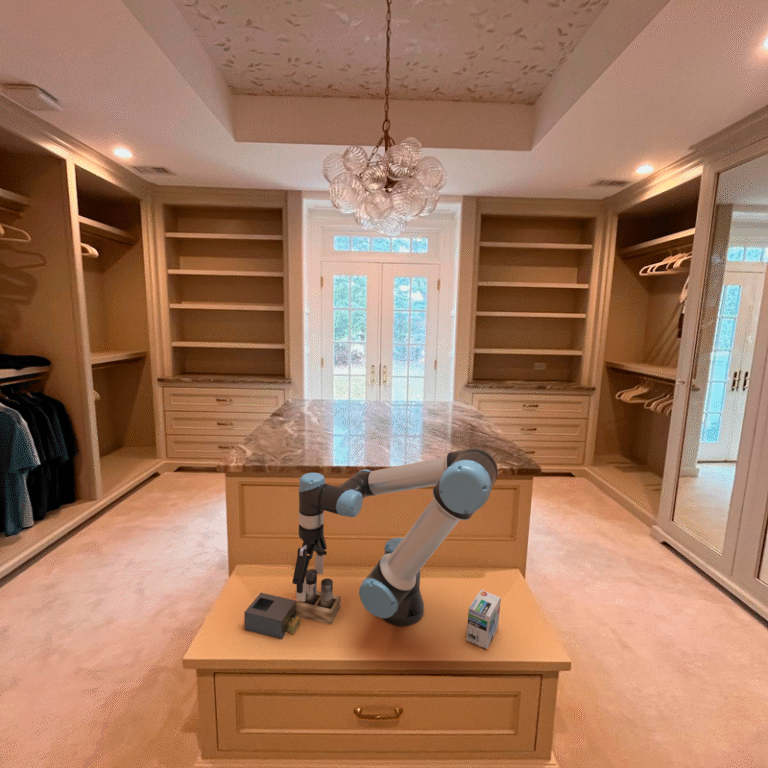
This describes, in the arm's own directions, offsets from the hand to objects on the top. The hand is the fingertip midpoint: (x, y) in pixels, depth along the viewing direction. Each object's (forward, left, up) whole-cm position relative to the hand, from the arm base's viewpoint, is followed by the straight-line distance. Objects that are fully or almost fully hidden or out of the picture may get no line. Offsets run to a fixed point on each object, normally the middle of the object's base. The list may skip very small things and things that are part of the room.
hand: (310, 586), depth 132 cm
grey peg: (0, 0, -7) cm, 7 cm away
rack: (-3, 0, -8) cm, 9 cm away
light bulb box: (-53, -6, -9) cm, 54 cm away
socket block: (+9, +9, -8) cm, 15 cm away
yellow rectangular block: (+6, +9, -8) cm, 13 cm away
